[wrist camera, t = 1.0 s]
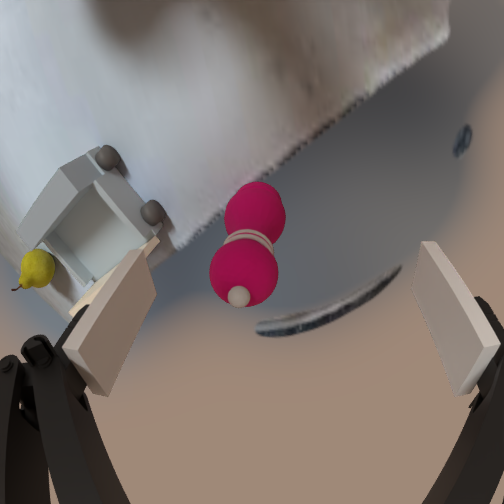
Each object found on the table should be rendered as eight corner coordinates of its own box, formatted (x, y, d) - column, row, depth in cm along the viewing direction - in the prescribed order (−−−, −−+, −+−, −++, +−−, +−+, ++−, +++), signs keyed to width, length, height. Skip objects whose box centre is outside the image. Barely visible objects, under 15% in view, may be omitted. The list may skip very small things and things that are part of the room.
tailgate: (94, 283, 47) (68, 312, 40) (155, 235, 41) (129, 264, 34) (98, 289, 48) (73, 318, 41) (161, 242, 42) (135, 272, 35)
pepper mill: (231, 175, 39) (189, 259, 22) (288, 180, 39) (291, 270, 22) (229, 225, 43) (193, 330, 26) (282, 231, 43) (278, 341, 26)
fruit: (56, 279, 52) (23, 319, 42) (32, 258, 50) (-4, 294, 40) (65, 257, 49) (28, 298, 39) (39, 235, 47) (-1, 272, 37)
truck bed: (43, 213, 45) (11, 239, 37) (106, 138, 38) (68, 155, 30) (97, 276, 51) (72, 309, 43) (172, 218, 43) (148, 251, 36)
